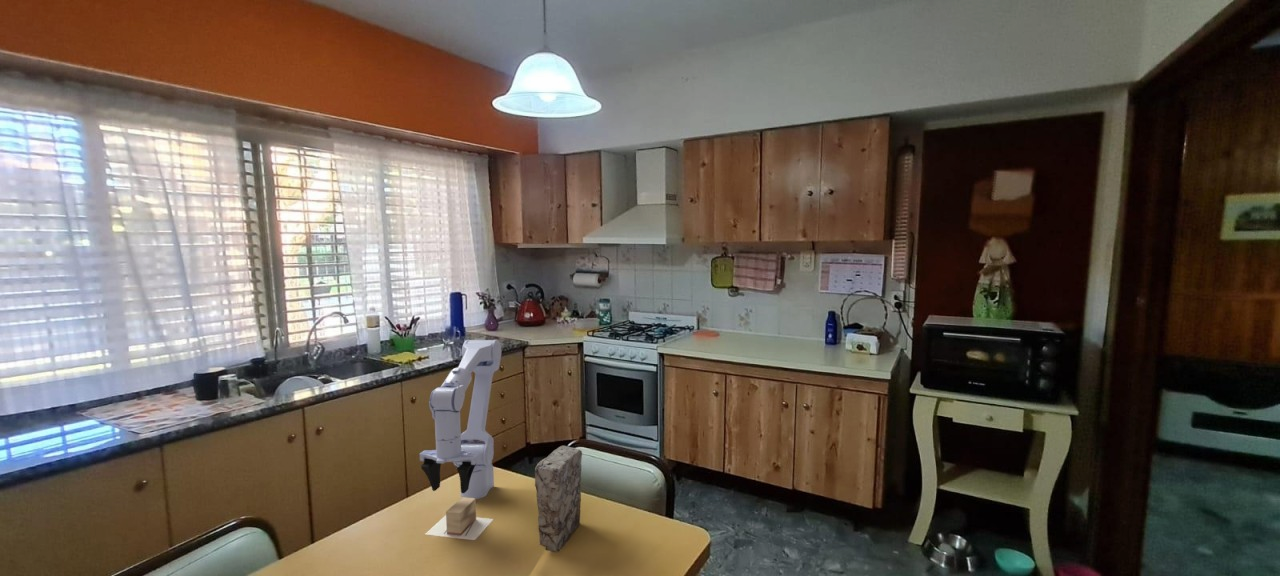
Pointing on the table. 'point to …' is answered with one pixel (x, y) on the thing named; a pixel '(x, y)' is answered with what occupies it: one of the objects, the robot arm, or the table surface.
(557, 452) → the stone block
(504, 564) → the table surface
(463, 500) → the block
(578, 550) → the table surface
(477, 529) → the board
